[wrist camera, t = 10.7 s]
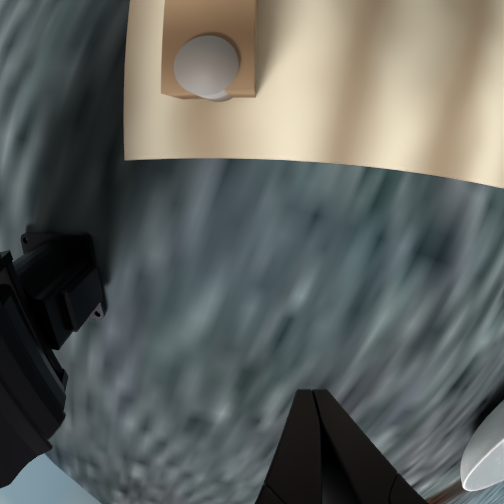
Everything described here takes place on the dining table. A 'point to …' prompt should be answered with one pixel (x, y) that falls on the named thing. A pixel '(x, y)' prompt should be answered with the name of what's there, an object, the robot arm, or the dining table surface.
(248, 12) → the stool leg
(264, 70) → the stool seat
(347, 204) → the dining table surface
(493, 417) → the serving bowl
